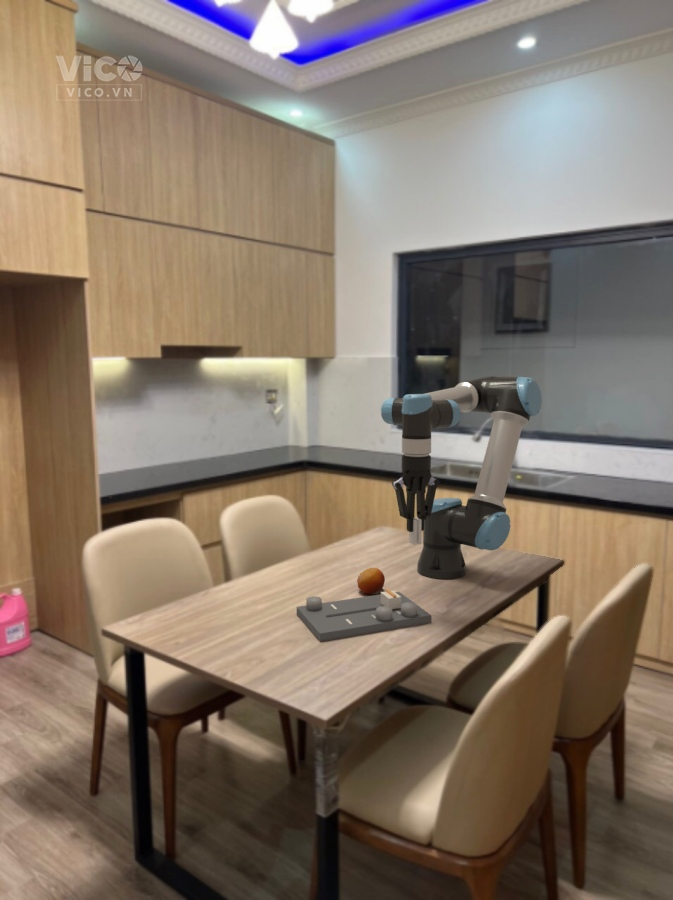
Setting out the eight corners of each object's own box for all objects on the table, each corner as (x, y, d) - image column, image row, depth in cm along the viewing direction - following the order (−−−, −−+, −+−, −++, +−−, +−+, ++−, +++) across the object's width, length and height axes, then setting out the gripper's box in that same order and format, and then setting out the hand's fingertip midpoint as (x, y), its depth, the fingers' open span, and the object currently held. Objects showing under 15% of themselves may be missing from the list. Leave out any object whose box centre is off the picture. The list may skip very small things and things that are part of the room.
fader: (392, 601, 172) (392, 588, 172) (401, 607, 168) (401, 594, 167) (380, 603, 171) (380, 589, 171) (388, 609, 166) (389, 596, 166)
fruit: (389, 593, 181) (375, 568, 181) (365, 605, 183) (351, 581, 183) (392, 583, 189) (378, 560, 189) (369, 595, 191) (356, 572, 191)
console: (398, 598, 181) (399, 583, 180) (431, 622, 164) (431, 606, 163) (296, 614, 170) (296, 598, 169) (319, 641, 153) (319, 623, 153)
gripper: (432, 451, 172) (430, 536, 176) (386, 453, 168) (385, 542, 171) (446, 454, 165) (445, 544, 169) (399, 457, 161) (398, 549, 164)
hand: (415, 543), depth 170 cm, fingers closed
